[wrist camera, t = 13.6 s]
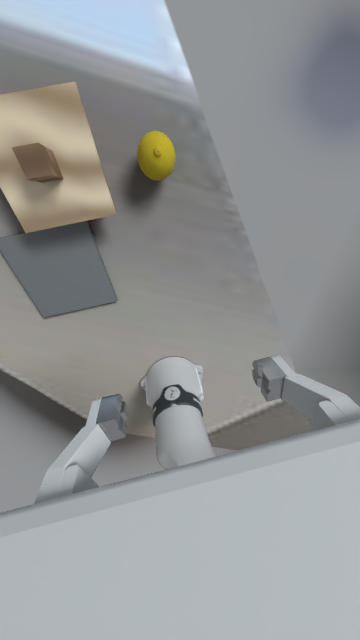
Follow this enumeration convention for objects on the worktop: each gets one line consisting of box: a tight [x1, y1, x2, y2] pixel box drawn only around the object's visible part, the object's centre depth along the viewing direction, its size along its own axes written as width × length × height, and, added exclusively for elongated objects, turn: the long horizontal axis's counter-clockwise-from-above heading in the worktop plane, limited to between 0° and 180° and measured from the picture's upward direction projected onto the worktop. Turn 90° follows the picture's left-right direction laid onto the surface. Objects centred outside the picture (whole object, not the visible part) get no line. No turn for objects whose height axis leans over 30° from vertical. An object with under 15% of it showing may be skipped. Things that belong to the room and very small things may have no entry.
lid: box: [0, 82, 116, 233], centre depth 25 cm, size 14×14×5 cm
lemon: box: [137, 131, 175, 181], centre depth 29 cm, size 6×6×8 cm
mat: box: [0, 221, 117, 318], centre depth 38 cm, size 16×16×1 cm
